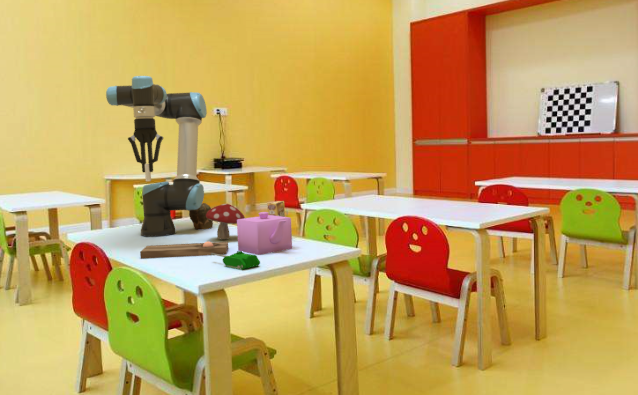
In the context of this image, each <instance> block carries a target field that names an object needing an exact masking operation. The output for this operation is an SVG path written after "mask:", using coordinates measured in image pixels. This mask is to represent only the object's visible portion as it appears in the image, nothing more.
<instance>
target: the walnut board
mask: <svg viewBox="0 0 638 395" xmlns="http://www.w3.org/2000/svg"><path fill="white" fill-rule="evenodd" d="M204 243H205V242H198V243H195V242H194V243H193V242H192V243H177V244H175V243H174V244H155V245H154V244H151V245H146V246H145V247H144V248H142V249H141V251H140V257H139V258H140V259H141V260H142V259H157V258H158V259H160V258H162V259H163V258H178V257H179V258H180V257H198V256H212V255H211V253H215V254H220V255H227V254H228V251H229V242H228V241H217V242H216V241H215V242H211V243H212V244H213V246H211V247H203V244H204Z"/></svg>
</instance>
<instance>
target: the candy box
mask: <svg viewBox="0 0 638 395" xmlns="http://www.w3.org/2000/svg"><path fill="white" fill-rule="evenodd" d="M285 209H286V208H285V201H284V200H275V201H272V202H268V203H267V212H268V213H269V214H268V215H274V216H282V217H286V214H285V213H286V211H285Z"/></svg>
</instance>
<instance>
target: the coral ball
mask: <svg viewBox="0 0 638 395" xmlns="http://www.w3.org/2000/svg"><path fill="white" fill-rule="evenodd" d="M203 243H204V244H203V247H211V246H213V244H212V243H213V242H212V241H205V242H203Z"/></svg>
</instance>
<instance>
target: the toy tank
mask: <svg viewBox="0 0 638 395" xmlns="http://www.w3.org/2000/svg"><path fill="white" fill-rule="evenodd" d="M210 256H218V257H223V258H222V263H223V264H224V265H225V267H226V268H229V269H230V268H231V269H234V270H239V271H243V270H245V269H249V268H253V267H258V266H259V265H260V264H261V260H260V259H259V257H258V255H256V254H252V253H246V252H242V251H238V250H237V251H236V252H235V253H233V254H230V255H227V254H223V255H220V254H215V253H211V255H210Z"/></svg>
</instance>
